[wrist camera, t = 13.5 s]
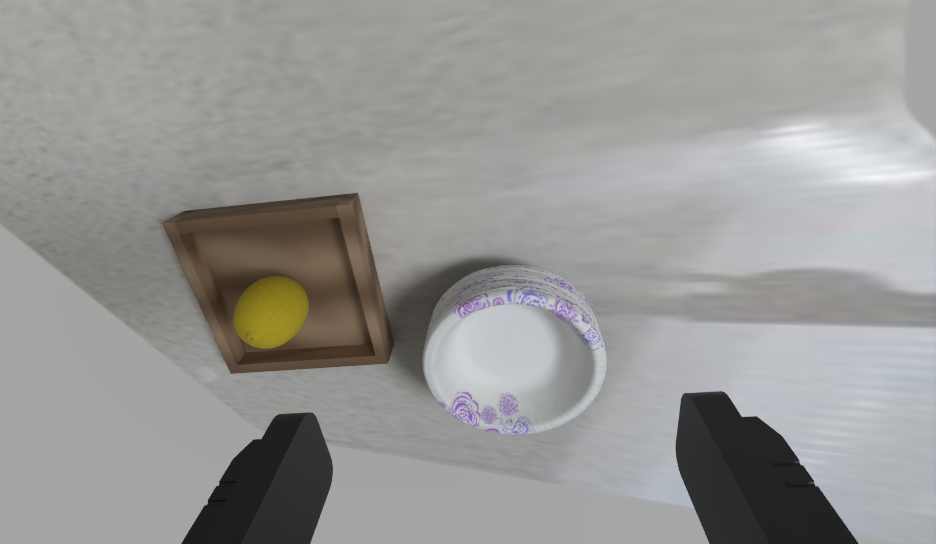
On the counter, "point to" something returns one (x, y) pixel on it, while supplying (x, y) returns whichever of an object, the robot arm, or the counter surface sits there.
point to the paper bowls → (514, 350)
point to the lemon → (271, 312)
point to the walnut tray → (294, 256)
